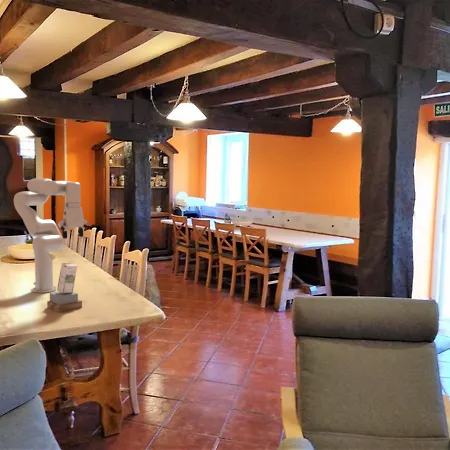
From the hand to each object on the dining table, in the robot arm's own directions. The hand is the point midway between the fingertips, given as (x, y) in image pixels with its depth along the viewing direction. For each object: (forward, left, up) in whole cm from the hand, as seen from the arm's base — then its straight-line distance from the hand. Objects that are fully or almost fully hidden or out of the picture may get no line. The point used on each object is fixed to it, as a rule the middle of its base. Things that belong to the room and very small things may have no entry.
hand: (73, 237), depth 250 cm
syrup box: (+11, -13, -26) cm, 31 cm away
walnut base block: (+11, -13, -34) cm, 38 cm away
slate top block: (+11, -13, -30) cm, 35 cm away
